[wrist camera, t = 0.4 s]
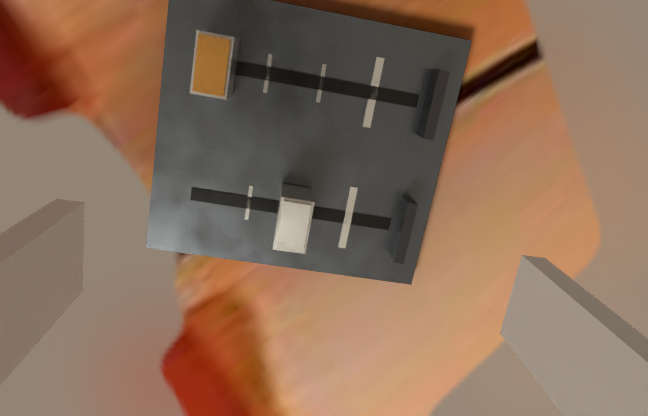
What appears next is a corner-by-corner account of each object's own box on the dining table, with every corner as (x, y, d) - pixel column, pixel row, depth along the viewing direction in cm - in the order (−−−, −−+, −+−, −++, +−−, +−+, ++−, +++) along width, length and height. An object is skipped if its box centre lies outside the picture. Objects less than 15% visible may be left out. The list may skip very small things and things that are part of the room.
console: (174, -18, 36) (163, -25, 33) (466, 41, 39) (481, 39, 36) (150, 242, 41) (139, 257, 38) (407, 278, 44) (417, 295, 41)
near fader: (206, 32, 36) (195, 29, 32) (239, 39, 36) (233, 36, 32) (199, 89, 37) (188, 93, 33) (232, 95, 37) (225, 100, 33)
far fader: (281, 183, 39) (281, 198, 35) (311, 188, 40) (314, 203, 36) (273, 231, 40) (272, 250, 36) (303, 235, 41) (305, 255, 37)
